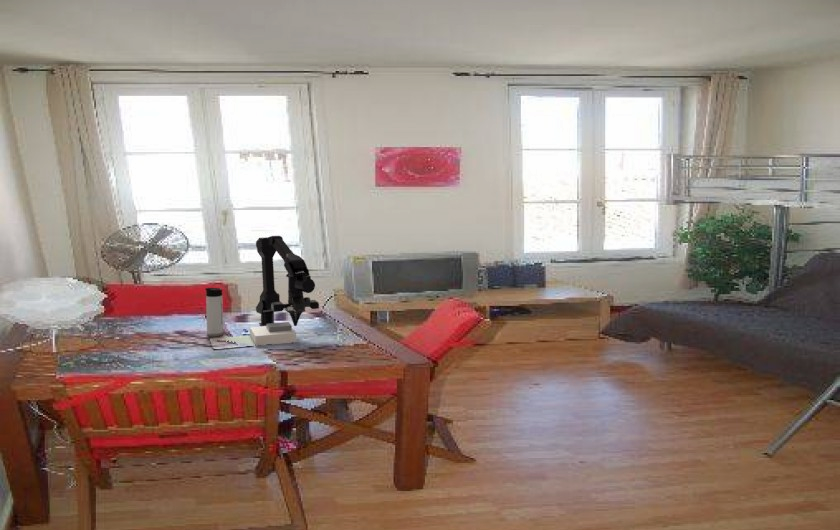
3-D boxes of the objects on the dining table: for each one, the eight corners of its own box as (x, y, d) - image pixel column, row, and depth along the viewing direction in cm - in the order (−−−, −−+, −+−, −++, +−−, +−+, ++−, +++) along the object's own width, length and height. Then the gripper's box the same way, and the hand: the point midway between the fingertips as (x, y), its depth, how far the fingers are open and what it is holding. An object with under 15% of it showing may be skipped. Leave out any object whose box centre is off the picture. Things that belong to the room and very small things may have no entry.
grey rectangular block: (269, 332, 211) (269, 327, 211) (266, 328, 217) (266, 323, 216) (291, 330, 215) (291, 325, 215) (288, 326, 221) (288, 322, 220)
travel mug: (203, 334, 218) (202, 287, 216) (218, 331, 223) (217, 285, 220) (210, 337, 214) (209, 289, 211) (225, 334, 219) (225, 287, 216)
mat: (209, 339, 212) (209, 338, 211) (248, 336, 218) (248, 335, 218) (213, 350, 198) (213, 349, 198) (254, 346, 205) (254, 345, 205)
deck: (249, 336, 218) (249, 327, 217) (288, 333, 225) (288, 324, 225) (255, 346, 206) (255, 336, 205) (296, 342, 213) (296, 332, 212)
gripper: (276, 294, 205) (276, 332, 207) (323, 291, 214) (322, 328, 216) (270, 288, 215) (270, 325, 217) (315, 286, 223) (315, 322, 226)
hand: (295, 325), depth 219 cm, fingers closed
